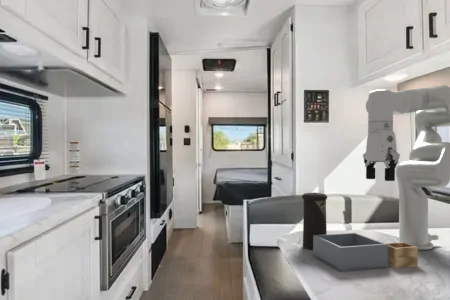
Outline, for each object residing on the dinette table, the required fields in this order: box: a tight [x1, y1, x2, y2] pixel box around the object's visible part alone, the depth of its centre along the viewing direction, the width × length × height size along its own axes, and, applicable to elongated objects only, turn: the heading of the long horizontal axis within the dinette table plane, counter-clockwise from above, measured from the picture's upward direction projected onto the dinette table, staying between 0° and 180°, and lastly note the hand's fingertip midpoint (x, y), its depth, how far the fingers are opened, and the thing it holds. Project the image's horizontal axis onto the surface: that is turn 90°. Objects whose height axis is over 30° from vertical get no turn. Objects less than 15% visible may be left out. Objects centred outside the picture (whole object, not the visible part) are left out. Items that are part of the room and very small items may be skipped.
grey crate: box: [312, 232, 389, 273], centre depth 111 cm, size 16×16×7 cm
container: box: [301, 192, 328, 251], centre depth 128 cm, size 9×9×20 cm
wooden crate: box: [384, 242, 419, 269], centre depth 109 cm, size 8×6×6 cm
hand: (379, 179), depth 115 cm, fingers open, 9 cm apart
